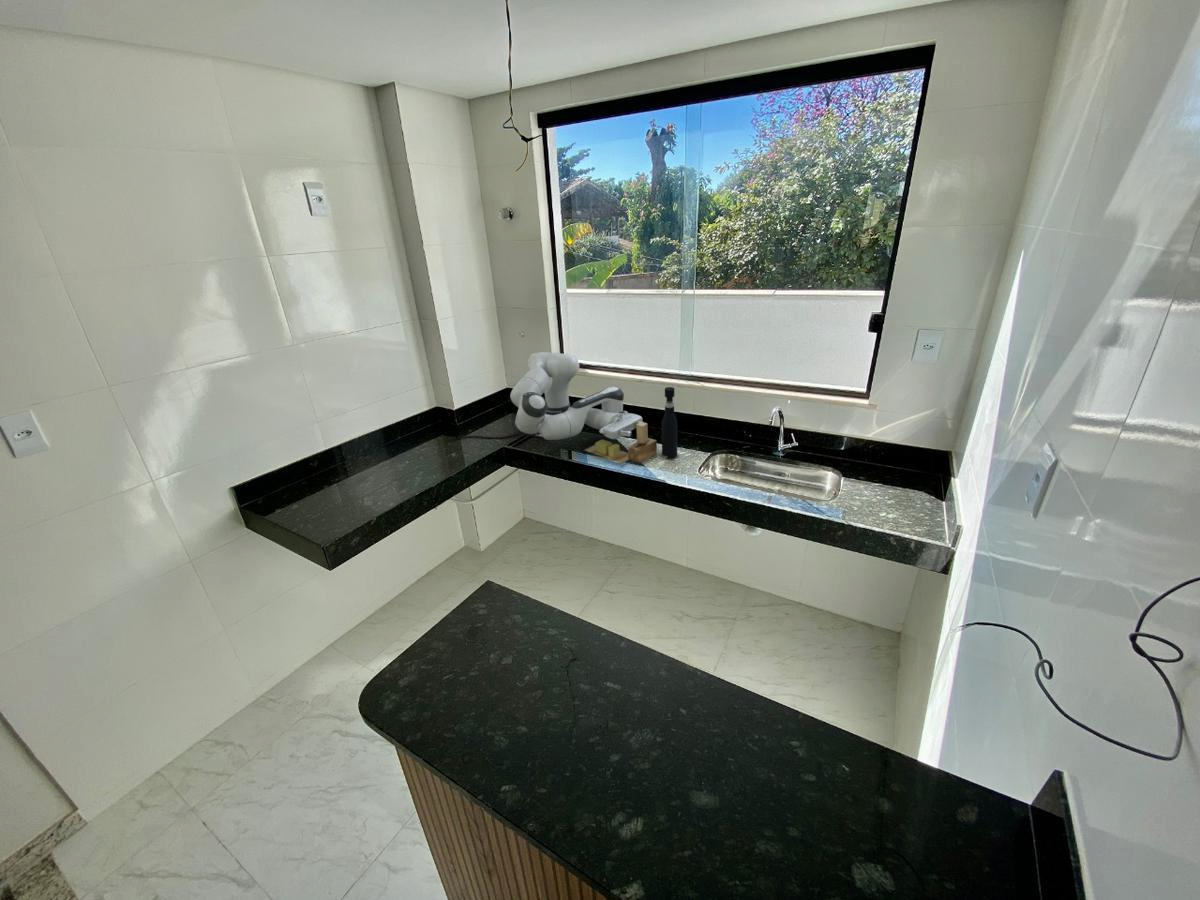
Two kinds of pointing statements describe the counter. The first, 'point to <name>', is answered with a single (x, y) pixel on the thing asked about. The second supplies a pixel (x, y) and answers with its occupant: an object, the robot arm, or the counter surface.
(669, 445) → the dark water bottle
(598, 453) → the board
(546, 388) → the robot arm
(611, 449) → the butter pat
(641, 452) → the knife block
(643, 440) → the knife
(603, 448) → the butter
